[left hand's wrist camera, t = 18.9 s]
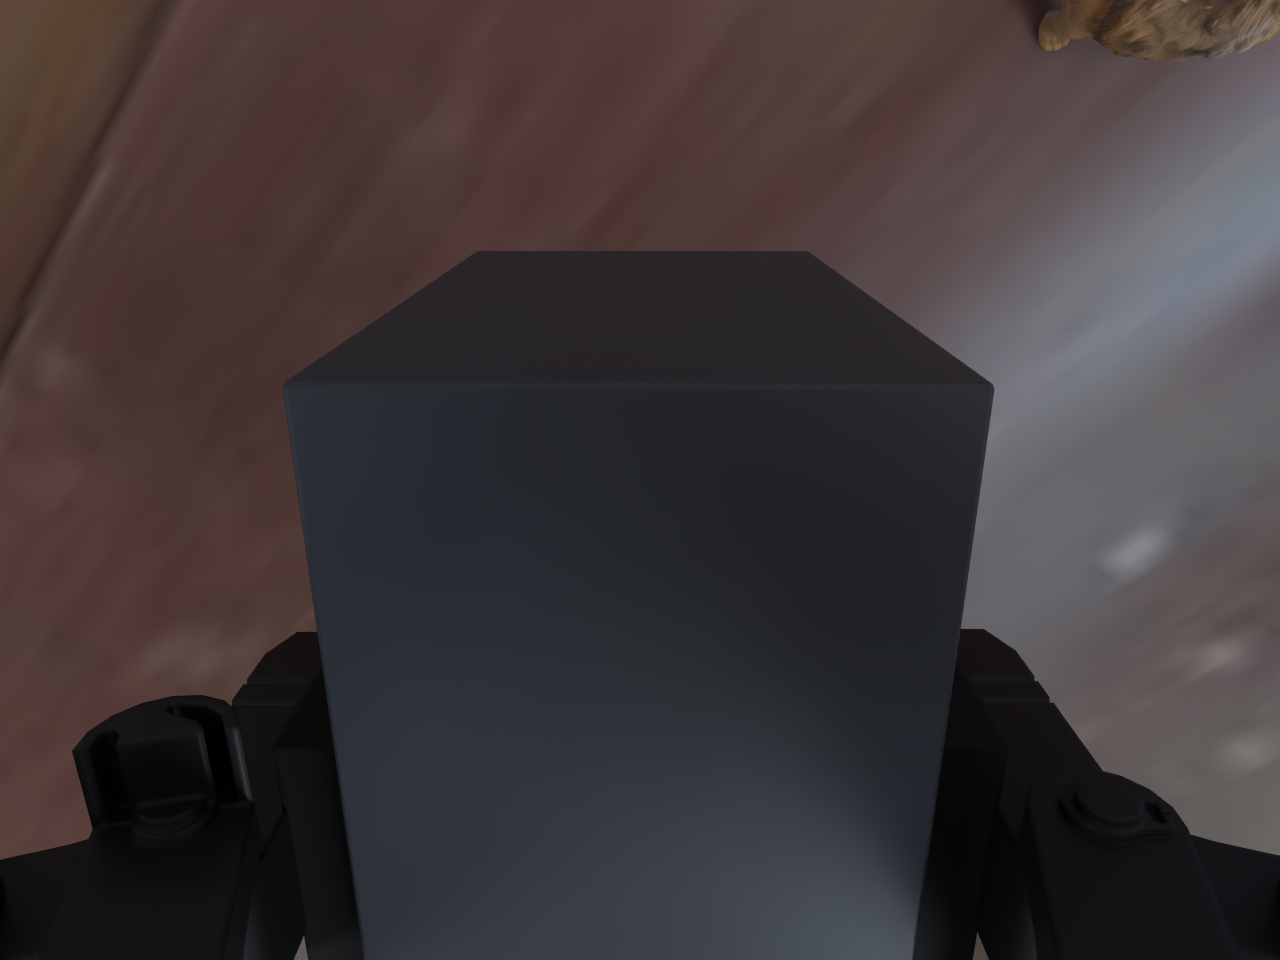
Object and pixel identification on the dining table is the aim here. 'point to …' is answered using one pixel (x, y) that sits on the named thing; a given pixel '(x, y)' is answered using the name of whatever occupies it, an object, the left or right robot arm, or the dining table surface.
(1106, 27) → the lion figurine
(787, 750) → the post
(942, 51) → the dining table surface
